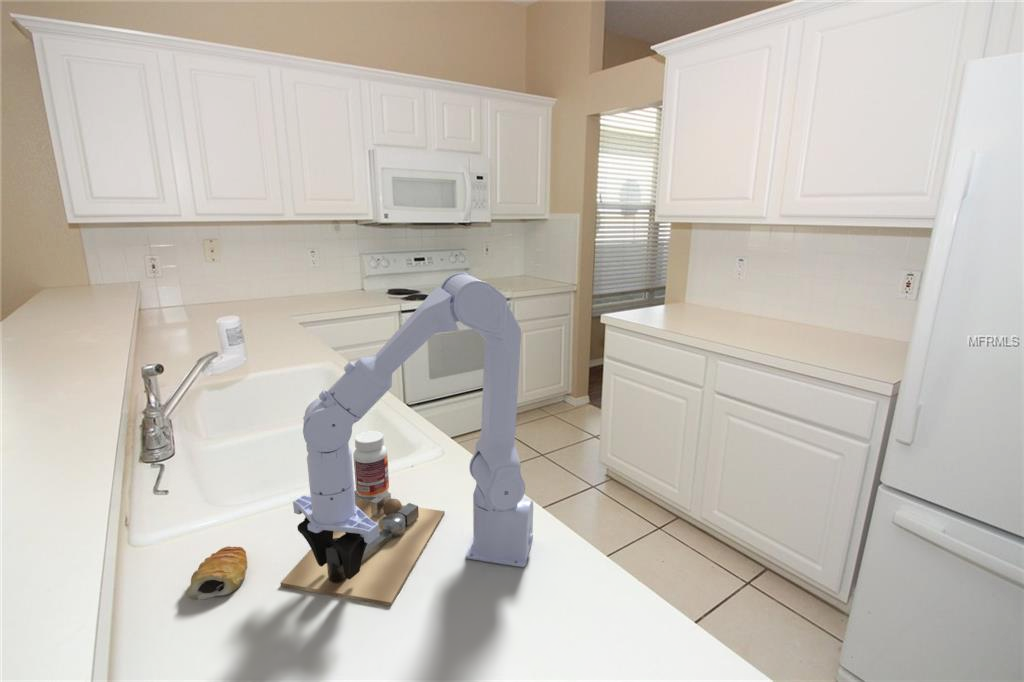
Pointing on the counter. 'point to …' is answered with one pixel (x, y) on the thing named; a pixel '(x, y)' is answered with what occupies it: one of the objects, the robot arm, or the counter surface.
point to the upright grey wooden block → (379, 504)
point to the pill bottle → (370, 464)
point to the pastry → (219, 573)
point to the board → (371, 563)
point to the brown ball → (392, 506)
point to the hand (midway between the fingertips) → (339, 568)
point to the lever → (391, 529)
